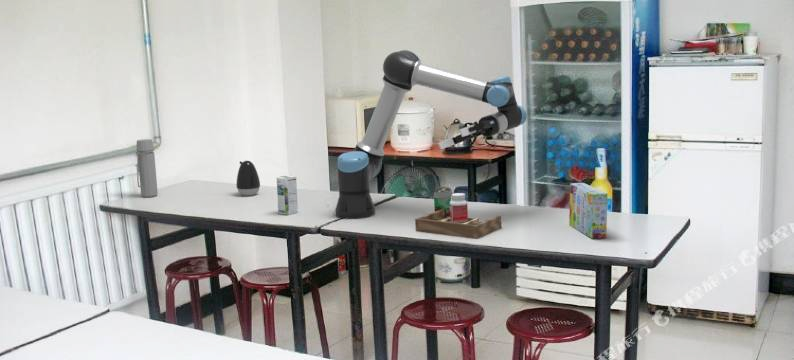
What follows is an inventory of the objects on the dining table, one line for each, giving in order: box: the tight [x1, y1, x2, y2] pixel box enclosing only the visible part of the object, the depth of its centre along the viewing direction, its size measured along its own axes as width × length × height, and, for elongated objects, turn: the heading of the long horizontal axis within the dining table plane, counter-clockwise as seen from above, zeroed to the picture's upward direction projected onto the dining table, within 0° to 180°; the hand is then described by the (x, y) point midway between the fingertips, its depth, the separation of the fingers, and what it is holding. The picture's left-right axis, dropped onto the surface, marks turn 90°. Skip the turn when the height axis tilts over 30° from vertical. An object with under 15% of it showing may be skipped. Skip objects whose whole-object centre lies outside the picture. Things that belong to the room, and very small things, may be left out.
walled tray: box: [414, 209, 502, 239], centre depth 294 cm, size 17×24×4 cm
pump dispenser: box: [236, 160, 261, 197], centre depth 369 cm, size 10×10×15 cm
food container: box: [433, 186, 454, 218], centre depth 316 cm, size 12×6×10 cm, turn 168°
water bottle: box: [135, 138, 159, 198], centre depth 373 cm, size 9×8×25 cm
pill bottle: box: [449, 192, 469, 223], centre depth 294 cm, size 6×6×11 cm
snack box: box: [568, 182, 609, 240], centre depth 284 cm, size 21×6×15 cm, turn 9°
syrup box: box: [276, 175, 299, 216], centre depth 329 cm, size 6×6×14 cm
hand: (449, 139), depth 298 cm, fingers open, 13 cm apart
